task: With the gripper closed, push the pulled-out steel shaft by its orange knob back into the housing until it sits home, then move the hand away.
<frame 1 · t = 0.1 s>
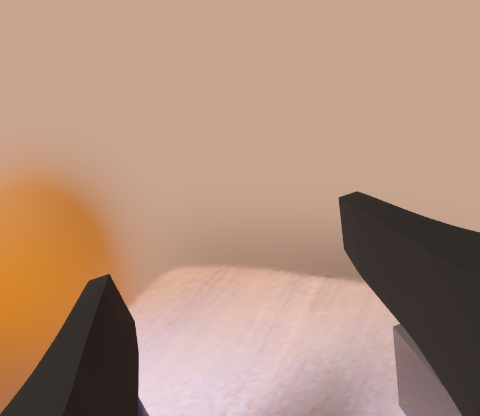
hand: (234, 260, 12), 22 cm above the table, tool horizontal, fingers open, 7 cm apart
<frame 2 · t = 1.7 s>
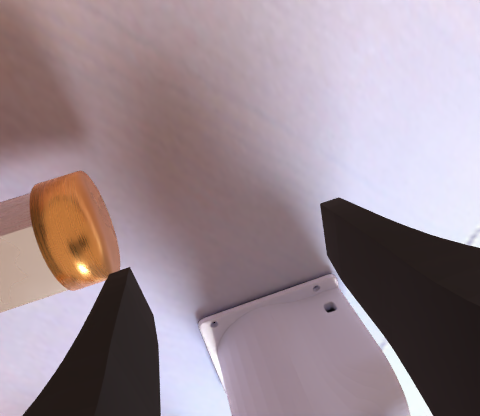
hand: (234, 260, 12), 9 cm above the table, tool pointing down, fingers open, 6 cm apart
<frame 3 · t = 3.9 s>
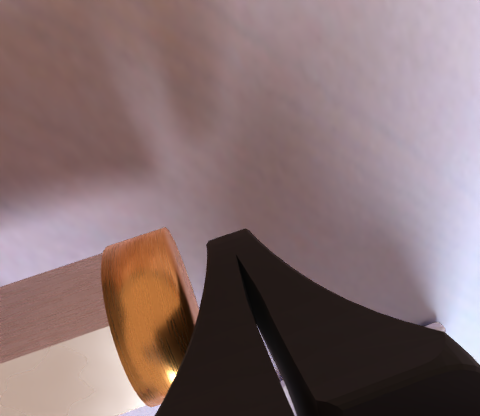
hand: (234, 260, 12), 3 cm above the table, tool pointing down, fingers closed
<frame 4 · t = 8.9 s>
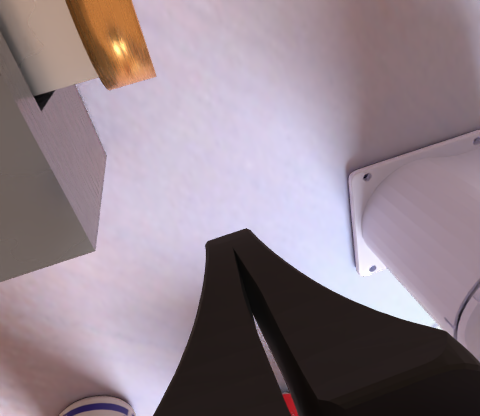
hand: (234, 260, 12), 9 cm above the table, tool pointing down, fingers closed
soda can: (274, 410, 33), on the table
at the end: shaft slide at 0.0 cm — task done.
